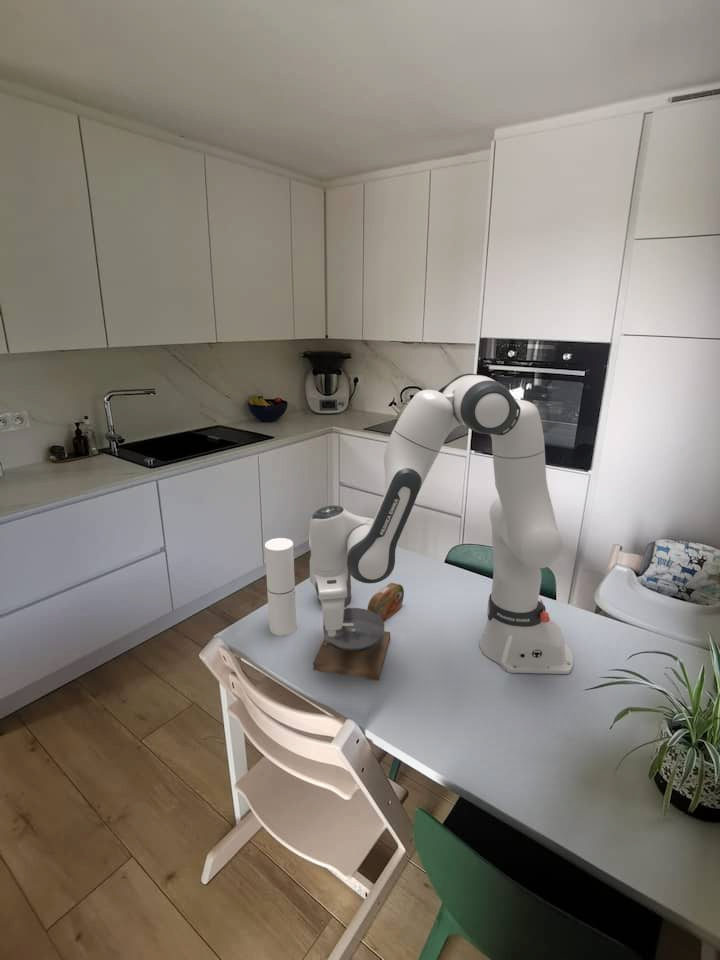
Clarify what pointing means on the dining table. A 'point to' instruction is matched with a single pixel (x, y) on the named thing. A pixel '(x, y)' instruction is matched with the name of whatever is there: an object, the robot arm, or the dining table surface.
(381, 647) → the brown square flat block
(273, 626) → the cylindrical container
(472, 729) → the dining table surface
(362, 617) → the dark grey round piece
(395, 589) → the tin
